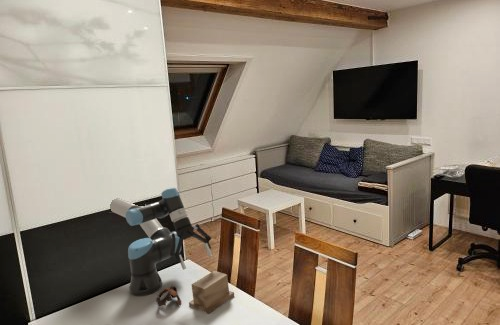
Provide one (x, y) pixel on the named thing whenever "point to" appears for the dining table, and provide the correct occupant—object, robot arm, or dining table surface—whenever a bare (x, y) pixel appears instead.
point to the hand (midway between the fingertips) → (198, 262)
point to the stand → (210, 292)
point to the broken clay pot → (168, 296)
